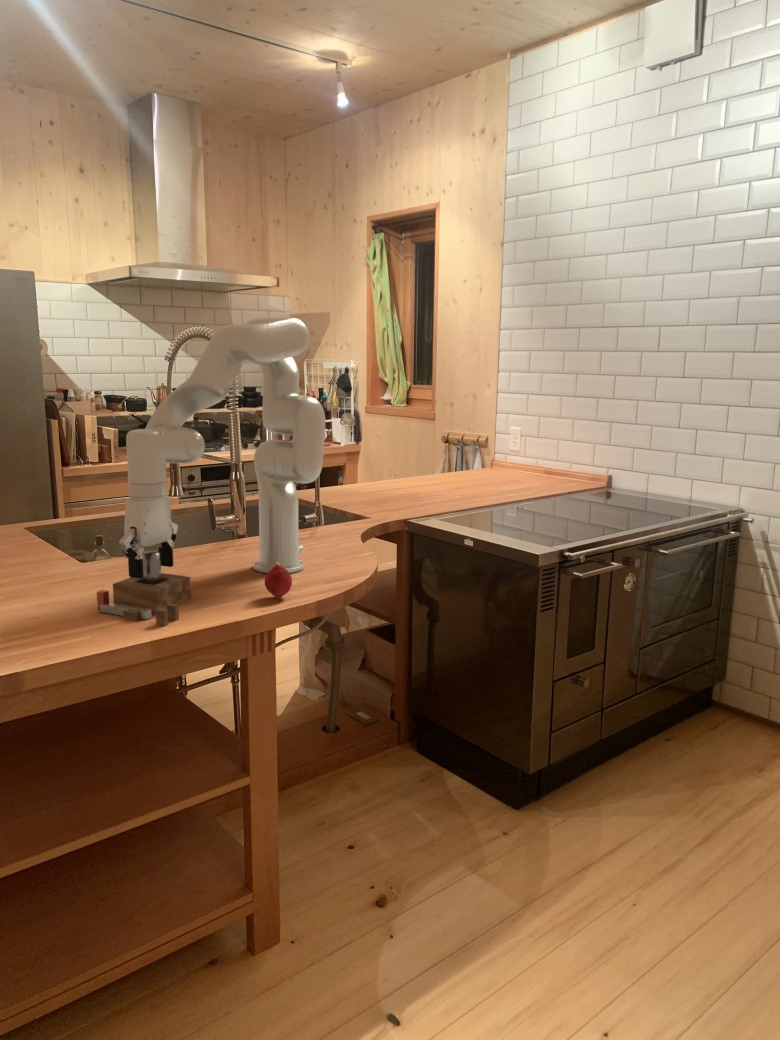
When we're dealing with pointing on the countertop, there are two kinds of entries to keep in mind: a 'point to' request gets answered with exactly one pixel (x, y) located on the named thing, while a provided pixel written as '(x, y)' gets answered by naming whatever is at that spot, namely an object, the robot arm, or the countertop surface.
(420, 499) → the countertop surface
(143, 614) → the lock pin
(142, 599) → the dock
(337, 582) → the countertop surface
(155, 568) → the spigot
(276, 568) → the onion
